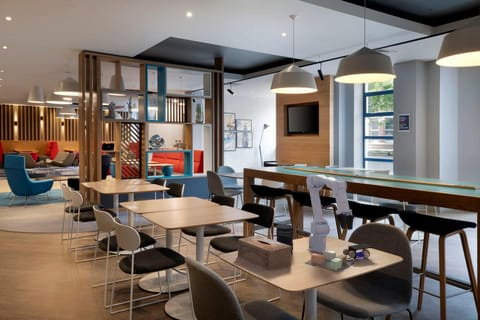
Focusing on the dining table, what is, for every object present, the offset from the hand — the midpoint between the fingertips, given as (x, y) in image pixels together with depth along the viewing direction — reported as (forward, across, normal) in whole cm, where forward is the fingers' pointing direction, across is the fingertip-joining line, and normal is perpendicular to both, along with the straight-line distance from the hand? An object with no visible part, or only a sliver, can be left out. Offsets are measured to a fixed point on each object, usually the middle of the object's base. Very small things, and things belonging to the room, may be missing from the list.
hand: (347, 229), depth 191 cm
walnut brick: (+16, +5, +9) cm, 19 cm away
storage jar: (+6, +1, +40) cm, 41 cm away
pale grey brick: (+12, +8, +17) cm, 23 cm away
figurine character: (+14, +19, +6) cm, 24 cm away
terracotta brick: (+14, -2, +19) cm, 24 cm away
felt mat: (+15, +4, +14) cm, 21 cm away
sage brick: (+18, -2, +9) cm, 20 cm away
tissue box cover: (+11, -18, +41) cm, 46 cm away
